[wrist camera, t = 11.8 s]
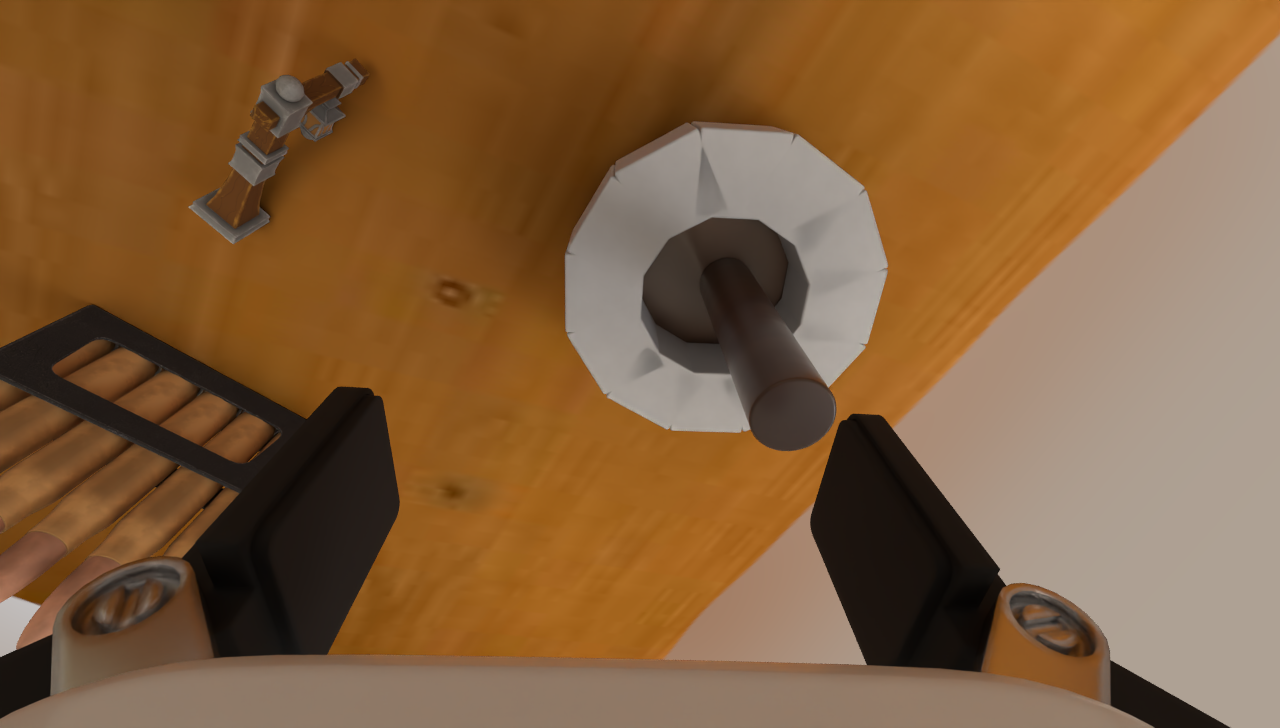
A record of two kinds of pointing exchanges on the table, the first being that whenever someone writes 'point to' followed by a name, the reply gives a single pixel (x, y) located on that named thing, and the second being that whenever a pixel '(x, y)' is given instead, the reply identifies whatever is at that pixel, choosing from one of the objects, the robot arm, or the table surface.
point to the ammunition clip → (118, 449)
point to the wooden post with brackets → (275, 143)
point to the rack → (742, 324)
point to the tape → (684, 197)
